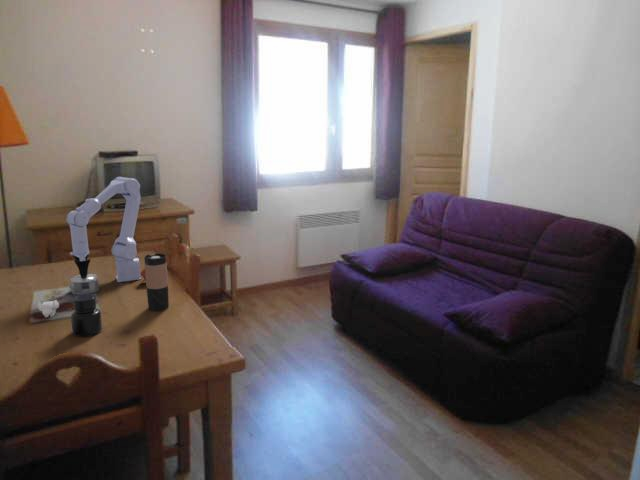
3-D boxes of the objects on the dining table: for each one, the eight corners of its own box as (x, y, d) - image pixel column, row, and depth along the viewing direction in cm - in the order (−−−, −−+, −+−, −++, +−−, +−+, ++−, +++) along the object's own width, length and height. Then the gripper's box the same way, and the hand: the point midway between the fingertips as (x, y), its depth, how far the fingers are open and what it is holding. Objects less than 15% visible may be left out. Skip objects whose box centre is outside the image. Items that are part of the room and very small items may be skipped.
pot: (96, 280, 216) (94, 269, 214) (100, 295, 199) (99, 283, 197) (70, 284, 211) (68, 272, 210) (72, 299, 194) (71, 287, 193)
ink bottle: (95, 323, 173) (92, 290, 170) (108, 330, 167) (105, 296, 164) (66, 332, 165) (62, 298, 162) (79, 340, 160) (75, 305, 157)
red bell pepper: (143, 291, 210) (162, 276, 210) (131, 278, 209) (150, 263, 209) (147, 287, 217) (165, 273, 217) (136, 274, 216) (154, 260, 216)
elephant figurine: (36, 321, 174) (34, 305, 172) (42, 312, 181) (40, 297, 180) (57, 319, 175) (55, 303, 174) (62, 311, 183) (60, 295, 181)
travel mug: (163, 312, 183) (159, 259, 178) (144, 310, 184) (139, 258, 179) (173, 304, 190) (169, 254, 185) (154, 303, 192) (151, 252, 187)
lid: (97, 276, 208) (96, 264, 207) (97, 284, 200) (96, 271, 198) (71, 279, 205) (70, 267, 203) (70, 286, 196) (69, 274, 195)
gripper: (67, 238, 202) (71, 270, 206) (69, 246, 190) (73, 280, 193) (86, 236, 205) (90, 267, 209) (89, 244, 193) (93, 277, 196)
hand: (83, 273), depth 201 cm, fingers open, 7 cm apart
